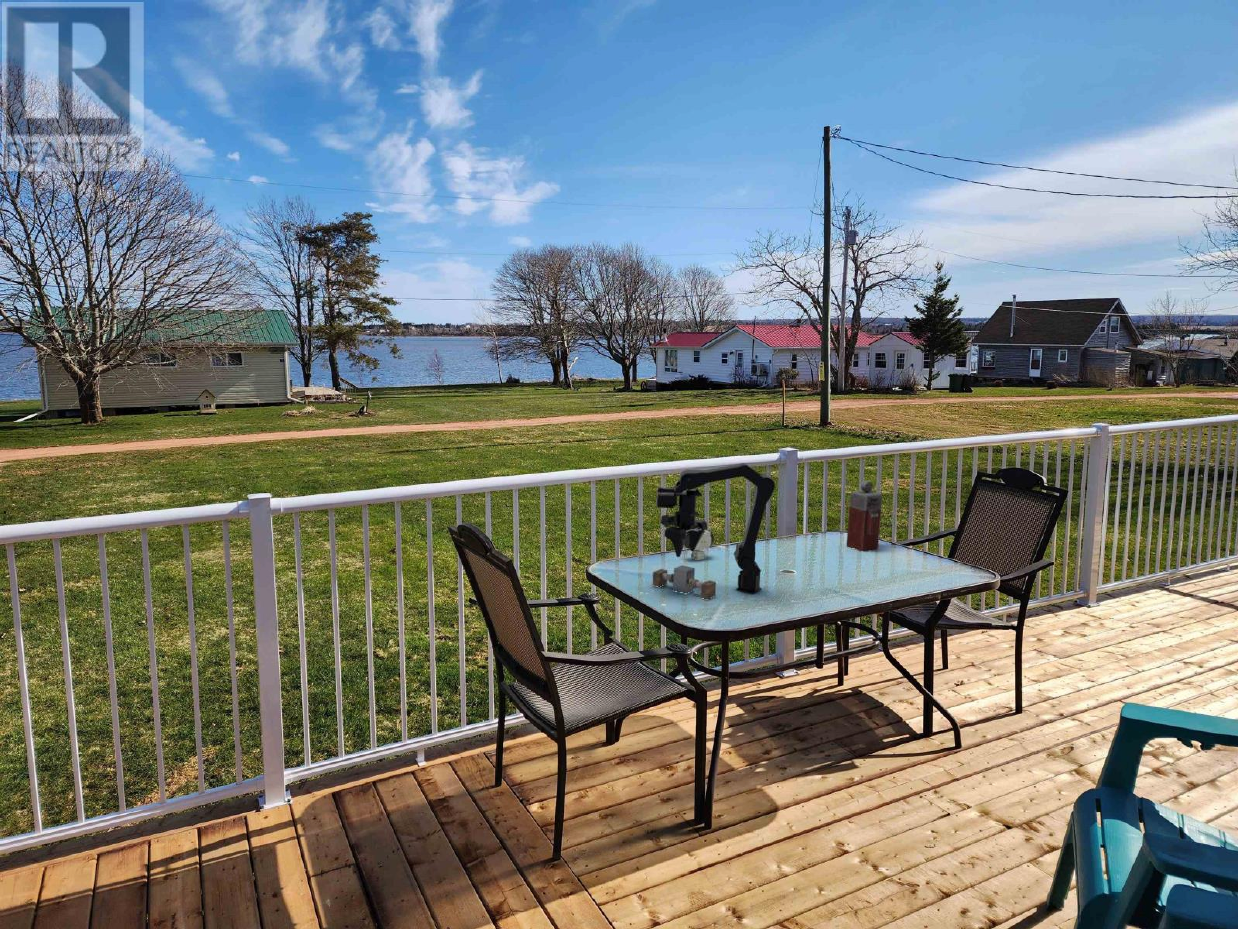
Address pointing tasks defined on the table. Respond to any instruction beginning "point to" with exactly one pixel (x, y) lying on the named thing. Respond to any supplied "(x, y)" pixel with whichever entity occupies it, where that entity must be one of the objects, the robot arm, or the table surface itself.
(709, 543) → the pneumatic valve
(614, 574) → the table surface
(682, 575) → the coupling block
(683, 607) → the table surface
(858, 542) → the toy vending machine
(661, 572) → the shaft stand
